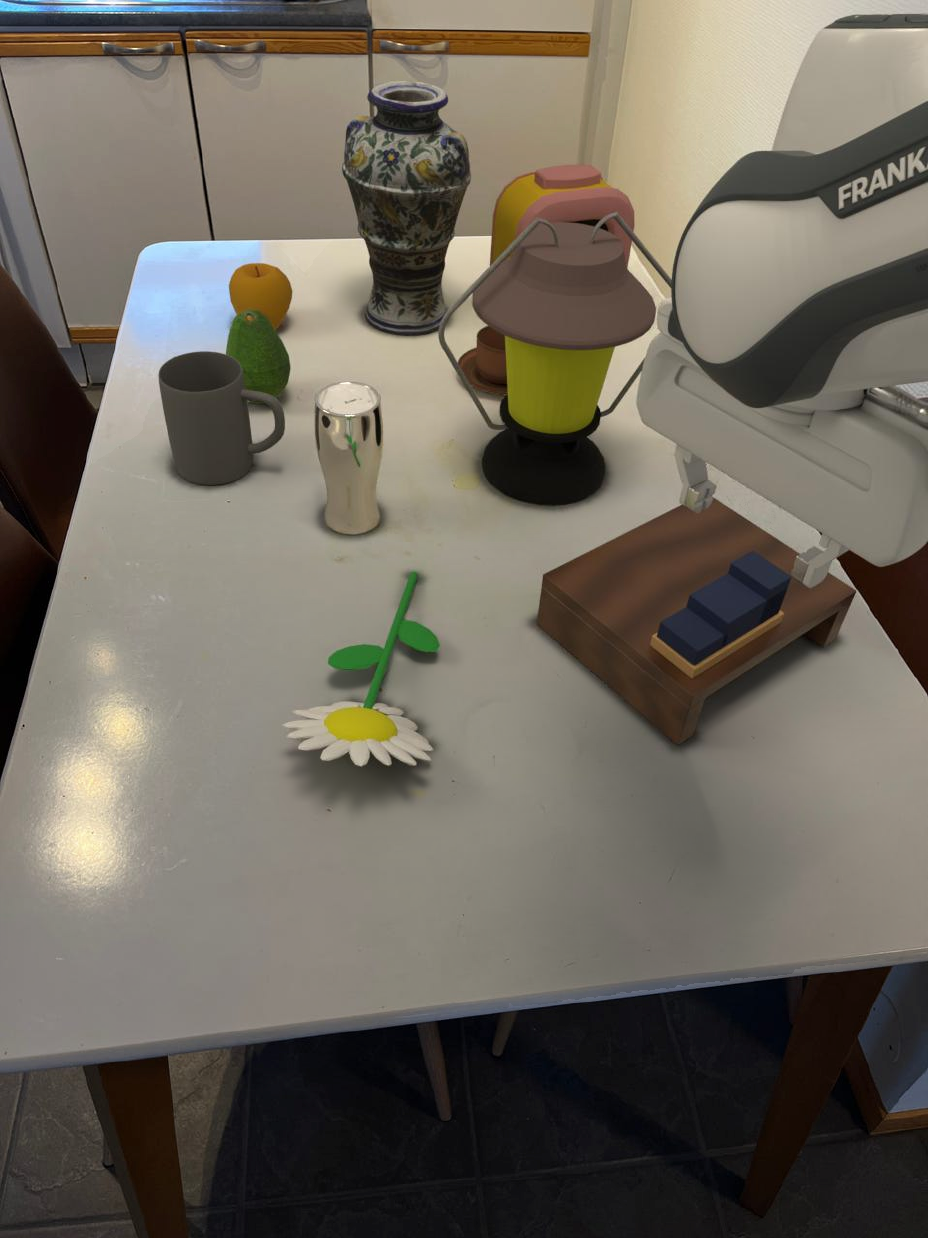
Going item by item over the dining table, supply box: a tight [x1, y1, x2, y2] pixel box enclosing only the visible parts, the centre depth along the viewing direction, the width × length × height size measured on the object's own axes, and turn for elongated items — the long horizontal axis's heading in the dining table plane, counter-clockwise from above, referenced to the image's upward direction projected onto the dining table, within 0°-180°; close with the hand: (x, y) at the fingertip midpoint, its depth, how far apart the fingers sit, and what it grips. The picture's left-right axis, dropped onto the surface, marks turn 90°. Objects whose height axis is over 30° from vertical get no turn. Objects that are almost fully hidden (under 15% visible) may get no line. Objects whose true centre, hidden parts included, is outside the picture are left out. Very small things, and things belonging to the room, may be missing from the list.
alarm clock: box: [489, 164, 635, 269], centre depth 140 cm, size 18×11×19 cm, turn 112°
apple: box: [228, 262, 293, 330], centre depth 134 cm, size 8×8×9 cm
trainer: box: [650, 551, 792, 679], centre depth 85 cm, size 12×5×6 cm, turn 128°
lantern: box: [437, 212, 672, 506], centre depth 105 cm, size 25×19×30 cm
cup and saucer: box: [457, 325, 508, 395], centre depth 128 cm, size 12×12×6 cm
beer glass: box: [314, 381, 384, 536], centre depth 101 cm, size 7×7×15 cm
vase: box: [341, 80, 472, 337], centre depth 132 cm, size 17×17×30 cm
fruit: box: [225, 310, 292, 405], centre depth 119 cm, size 8×8×12 cm
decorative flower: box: [282, 571, 441, 767], centre depth 88 cm, size 13×5×30 cm
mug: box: [157, 350, 286, 486], centre depth 108 cm, size 14×9×12 cm
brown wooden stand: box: [536, 496, 857, 746], centre depth 94 cm, size 19×23×6 cm
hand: (748, 541), depth 63 cm, fingers open, 8 cm apart
